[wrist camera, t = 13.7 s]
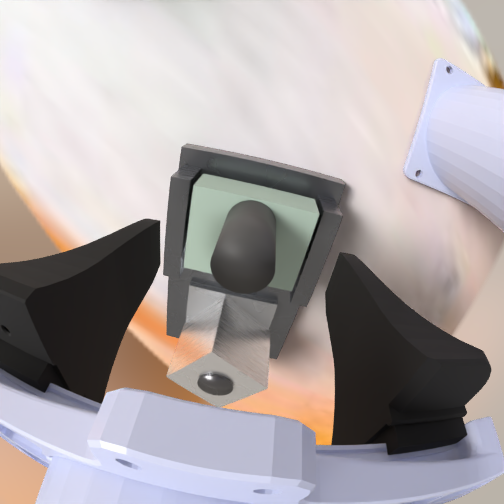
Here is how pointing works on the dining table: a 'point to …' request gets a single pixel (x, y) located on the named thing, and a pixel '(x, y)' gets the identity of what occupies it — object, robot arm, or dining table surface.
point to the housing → (222, 354)
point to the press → (204, 284)
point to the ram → (248, 234)
